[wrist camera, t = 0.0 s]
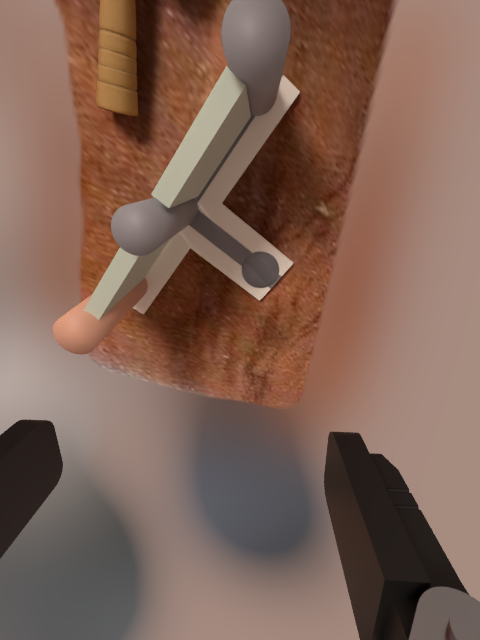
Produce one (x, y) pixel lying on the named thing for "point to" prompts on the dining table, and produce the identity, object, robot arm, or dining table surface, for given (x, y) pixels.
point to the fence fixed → (213, 124)
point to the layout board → (228, 219)
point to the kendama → (117, 57)
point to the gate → (106, 302)
